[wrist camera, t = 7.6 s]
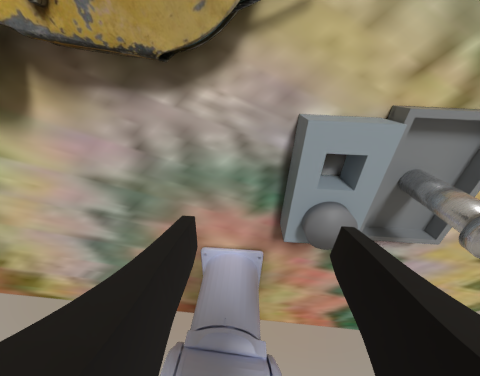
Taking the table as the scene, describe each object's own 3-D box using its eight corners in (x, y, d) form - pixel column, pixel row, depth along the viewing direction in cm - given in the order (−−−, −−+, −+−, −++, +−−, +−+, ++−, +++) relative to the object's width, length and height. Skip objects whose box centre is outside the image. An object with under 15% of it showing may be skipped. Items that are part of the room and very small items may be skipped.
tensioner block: (340, 226, 22) (359, 257, 18) (279, 222, 22) (286, 253, 18) (381, 117, 16) (424, 129, 12) (299, 114, 16) (314, 124, 12)
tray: (423, 231, 22) (438, 244, 20) (344, 226, 22) (352, 239, 20) (505, 110, 15) (537, 114, 14) (392, 105, 16) (410, 108, 14)
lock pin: (422, 197, 19) (515, 261, 12) (385, 195, 19) (458, 258, 12) (441, 163, 17) (563, 217, 11) (401, 162, 17) (496, 214, 11)
